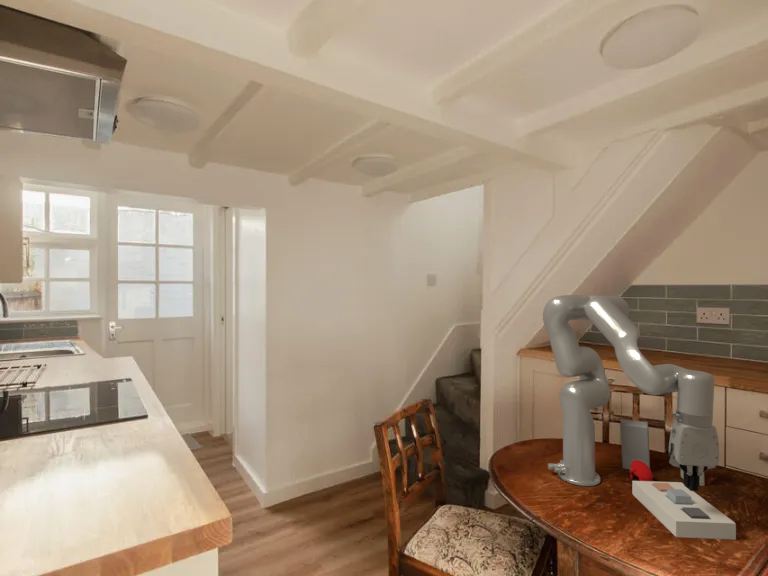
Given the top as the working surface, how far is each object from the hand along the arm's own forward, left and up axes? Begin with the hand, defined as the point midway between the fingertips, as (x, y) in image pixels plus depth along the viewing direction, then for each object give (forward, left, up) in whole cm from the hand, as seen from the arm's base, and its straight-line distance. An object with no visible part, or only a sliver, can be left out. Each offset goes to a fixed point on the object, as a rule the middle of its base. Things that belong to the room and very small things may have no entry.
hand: (690, 488), depth 110 cm
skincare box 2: (+17, +27, -10) cm, 33 cm away
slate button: (+1, +6, -7) cm, 9 cm away
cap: (+1, +26, -10) cm, 28 cm away
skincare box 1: (+4, +36, -10) cm, 38 cm away
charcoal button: (+1, -1, -9) cm, 9 cm away
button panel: (+1, +6, -10) cm, 12 cm away
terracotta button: (+1, +13, -9) cm, 16 cm away
